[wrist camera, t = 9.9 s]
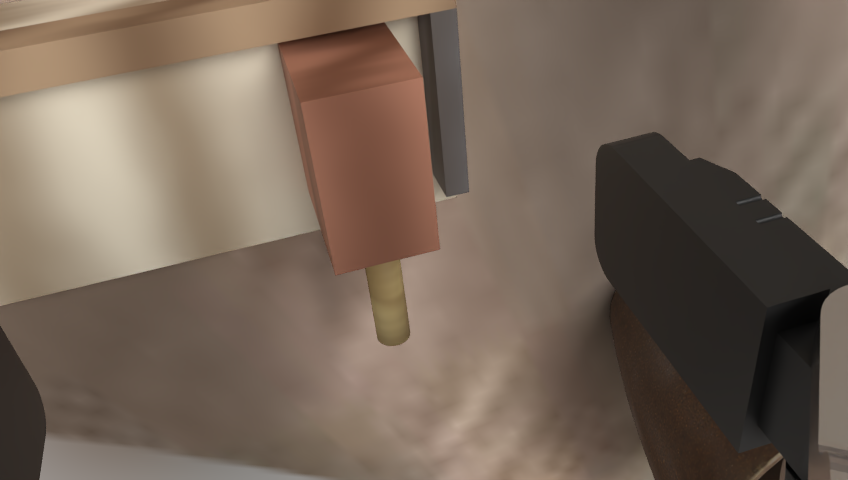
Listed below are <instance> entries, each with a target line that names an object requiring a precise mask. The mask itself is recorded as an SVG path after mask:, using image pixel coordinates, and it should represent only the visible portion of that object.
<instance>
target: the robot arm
mask: <svg viewBox="0 0 848 480" xmlns="http://www.w3.org/2000/svg"><path fill="white" fill-rule="evenodd" d="M595 245H596V251H597V255H598V258H599V262H600V264H601V267H602V269H603V271H604V273H605V275H606V277H607V279H608V280H609V281H610V283H611V284H612V285H613V287H614V288H615V289H616V291H617V292H618V293H619V295H620V296H621V298H622V299H623V300H624V302H625V303H626V304H627V306H628V307H629V308H630V310H631V311H632V312H633V314H634V315H635V316H636V318H637V319H638V320H639V322H640V323H641V324H642V326H643V327H644V328H645V330H646V331H647V332H648V334H649V335H650V336H651V338H652V339H653V340H654V342H655V343H656V344H657V346H658V347H659V348H660V350H661V351H662V352H663V354H664V355H665V356H666V358H667V359H668V360H669V362H670V363H671V364H672V366H673V367H674V368H675V370H676V371H677V372H678V374H679V375H680V376H681V378H682V379H683V380H684V382H685V383H686V384H687V386H688V387H689V388H690V390H691V391H692V392H693V394H694V395H695V396H696V398H697V399H698V400H699V402H700V403H701V404H702V406H703V407H704V408H705V410H706V411H707V412H708V414H709V415H710V416H711V418H712V419H713V420H714V422H715V423H716V424H717V426H718V427H719V428H720V430H721V431H722V432H723V434H724V435H725V436H726V438H727V439H728V440H729V442H730V443H731V444H732V446H733V447H734V448H735V450H736V451H737V452H738V453H742V452H745V451H748V450H751V449H754V448H757V447H760V446H763V445H766V444H770V443H772V444H773V445H774V446H775V448H776V449H777V450H778V451H779V453H780V454H781V455H782V456H783V458H784V459H783V463H782V467H781V472H780V480H848V269H847V268H846V267H844V266H843V265H842V264H841V263H840V262H839V261H837V260H836V259H835V258H834V257H833V256H832V255H830V254H829V253H828V252H827V251H826V250H825V249H823V248H822V247H821V246H820V245H819V244H818V243H816V242H815V241H814V240H813V239H812V238H811V237H809V236H808V235H807V234H806V233H805V232H804V231H803V230H801V229H800V228H799V227H798V226H797V225H796V224H794V223H793V222H792V221H791V220H790V219H789V218H787V217H786V218H783V217H782V212H780V211H779V210H778V209H777V208H776V207H775V206H773V205H772V204H771V203H770V202H769V201H768V200H766V199H764V200H762V199H761V194H759V193H758V192H757V191H756V190H755V189H754V188H752V187H751V186H750V185H749V184H748V183H747V182H745V181H744V180H743V179H742V178H741V177H740V176H738V175H737V174H736V173H734V172H732V171H730V170H727V169H725V168H723V167H720V166H718V165H716V164H713V163H711V162H709V161H706V160H704V159H702V158H697V159H693V160H688V159H687V158H686V157H685V156H684V155H683V154H682V153H681V152H680V151H678V150H677V149H676V148H675V147H674V146H673V145H672V144H671V143H670V142H669V141H667V140H666V139H665V138H664V137H663V136H662V135H660V134H659V133H656V132H652V133H648V134H644V135H640V136H636V137H632V138H628V139H624V140H620V141H616V142H612V143H608V144H604V145H602V146H601V147H600V148H599V150H598V152H597V157H596V186H595ZM45 436H46V419H45V412H44V407H43V403H42V400H41V397H40V394H39V391H38V389H37V387H36V385H35V383H34V382H33V380H32V378H31V377H30V375H29V373H28V371H27V370H26V368H25V366H24V365H23V363H22V361H21V360H20V358H19V356H18V355H17V353H16V351H15V350H14V348H13V346H12V345H11V343H10V341H9V340H8V338H7V336H6V335H5V333H4V331H3V330H2V328H1V326H0V480H39V478H40V471H41V464H42V457H43V450H44V443H45Z"/></svg>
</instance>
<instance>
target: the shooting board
mask: <svg viewBox="0 0 848 480" xmlns="http://www.w3.org/2000/svg"><path fill="white" fill-rule="evenodd" d="M383 22H385V24H386V25H387V27H388V28H389V29H390V31H391V32H392V34H393V35H394V37H395V38H396V39H397V41H398V42H399V44H400V45H401V47H402V48H403V49H404V51H405V52H406V54H407V55H408V57H409V58H410V60H411V61H412V62H413V64H414V65H415V67H416V68H417V70H418V71H419V72H420V74H421V75H422V77H423V84H424V94H425V104H426V114H427V124H428V134H429V144H430V154H431V165H432V175H433V185H434V195H435V202H438V201H443V200H447V199H451V198H455V197H457V195H458V194H463V193H467V192H469V184H468V169H467V154H466V139H465V125H464V110H463V95H462V80H461V66H460V51H459V36H458V21H457V6H456V0H22V1H16V2H11V3H5V4H0V306H2V305H7V304H11V303H15V302H19V301H23V300H28V299H32V298H36V297H40V296H44V295H49V294H53V293H57V292H61V291H65V290H70V289H74V288H78V287H82V286H86V285H90V284H95V283H99V282H103V281H107V280H111V279H116V278H120V277H124V276H128V275H132V274H137V273H141V272H145V271H149V270H153V269H158V268H162V267H166V266H170V265H174V264H179V263H183V262H187V261H191V260H195V259H199V258H204V257H208V256H212V255H216V254H220V253H225V252H229V251H233V250H237V249H241V248H246V247H250V246H254V245H258V244H262V243H267V242H271V241H275V240H279V239H283V238H288V237H292V236H296V235H300V234H304V233H308V232H313V231H317V230H321V229H320V225H319V222H318V219H317V216H316V213H315V210H314V207H313V204H312V201H311V197H310V194H309V191H308V186H307V181H306V177H305V172H304V167H303V163H302V158H301V153H300V148H299V144H298V139H297V134H296V130H295V125H294V120H293V115H292V111H291V106H290V101H289V97H288V92H287V87H286V82H285V78H284V73H283V68H282V64H281V59H280V54H279V49H278V45H277V43H281V42H286V41H291V40H296V39H301V38H306V37H311V36H316V35H321V34H327V33H332V32H337V31H342V30H347V29H352V28H357V27H362V26H367V25H373V24H378V23H383Z"/></svg>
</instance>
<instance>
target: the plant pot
mask: <svg viewBox="0 0 848 480" xmlns="http://www.w3.org/2000/svg"><path fill="white" fill-rule="evenodd" d="M610 320H611V327H612V333H613V339H614V344H615V349H616V354H617V359H618V363H619V368H620V372H621V376H622V380H623V383H624V387H625V391H626V395H627V398H628V402H629V405H630V409H631V412H632V415H633V418H634V422H635V425H636V428H637V431H638V434H639V437H640V440H641V443H642V446H643V448H644V451H645V454H646V457H647V459H648V462H649V465H650V468H651V470H652V473H653V476H654V478H655V480H780V472H781V467H782V463H783V459H784V458H783V456H782V455H781V454H780V453H779V451H778V450H777V449H776V448H775V446H774V445H773V444H772V443H770V444H766V445H763V446H760V447H757V448H754V449H751V450H748V451H745V452H742V453H738V452H737V451H736V450H735V448H734V447H733V446H732V444H731V443H730V442H729V440H728V439H727V438H726V436H725V435H724V434H723V432H722V431H721V430H720V428H719V427H718V426H717V424H716V423H715V422H714V420H713V419H712V418H711V416H710V415H709V414H708V412H707V411H706V410H705V408H704V407H703V406H702V404H701V403H700V402H699V400H698V399H697V398H696V396H695V395H694V394H693V392H692V391H691V390H690V388H689V387H688V386H687V384H686V383H685V382H684V380H683V379H682V378H681V376H680V375H679V374H678V372H677V371H676V370H675V368H674V367H673V366H672V364H671V363H670V362H669V360H668V359H667V358H666V356H665V355H664V354H663V352H662V351H661V350H660V348H659V347H658V346H657V344H656V343H655V342H654V340H653V339H652V338H651V336H650V335H649V334H648V332H647V331H646V330H645V328H644V327H643V326H642V324H641V323H640V322H639V320H638V319H637V318H636V316H635V315H634V314H633V312H632V311H631V310H630V308H629V307H628V306H627V304H626V303H625V302H624V300H623V299H622V298H621V296H620V295H619V293H618V292H617V291H616V292H615V294H614V297H613V299H612V302H611V307H610Z"/></svg>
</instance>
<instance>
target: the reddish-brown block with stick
mask: <svg viewBox="0 0 848 480" xmlns="http://www.w3.org/2000/svg"><path fill="white" fill-rule="evenodd" d="M277 45H278V49H279V54H280V59H281V64H282V68H283V73H284V78H285V82H286V87H287V92H288V97H289V101H290V106H291V111H292V115H293V120H294V125H295V130H296V134H297V139H298V144H299V148H300V153H301V158H302V163H303V167H304V172H305V177H306V181H307V186H308V191H309V194H310V197H311V201H312V204H313V207H314V210H315V213H316V216H317V219H318V222H319V225H320V229H321V232H322V235H323V238H324V241H325V244H326V247H327V250H328V253H329V257H330V260H331V263H332V266H333V269H334V272H335V275H339V274H343V273H347V272H351V271H355V270H359V269H363V268H365V269H366V275H367V281H368V287H369V292H370V298H371V304H372V310H373V316H374V321H375V327H376V333H377V338H378V340H379V342H380V343H382V344H384V345H387V346H396V345H400V344H402V343H404V342H405V341H407V339H408V338H409V336H410V328H409V321H408V313H407V306H406V299H405V292H404V285H403V277H402V270H401V263H400V259H403V258H407V257H411V256H415V255H419V254H423V253H427V252H431V251H435V250H439V249H440V245H439V235H438V225H437V215H436V205H435V195H434V185H433V175H432V165H431V154H430V144H429V134H428V124H427V114H426V104H425V94H424V84H423V77H422V75H421V74H420V72H419V71H418V70H417V68H416V67H415V65H414V64H413V62H412V61H411V60H410V58H409V57H408V55H407V54H406V52H405V51H404V49H403V48H402V47H401V45H400V44H399V42H398V41H397V39H396V38H395V37H394V35H393V34H392V32H391V31H390V29H389V28H388V27H387V25H386V24H385V22H383V23H378V24H373V25H367V26H362V27H357V28H352V29H347V30H342V31H337V32H332V33H327V34H321V35H316V36H311V37H306V38H301V39H296V40H291V41H286V42H281V43H277Z"/></svg>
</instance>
